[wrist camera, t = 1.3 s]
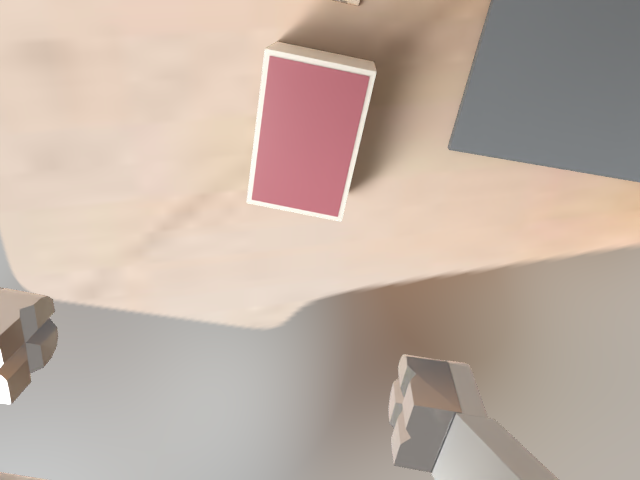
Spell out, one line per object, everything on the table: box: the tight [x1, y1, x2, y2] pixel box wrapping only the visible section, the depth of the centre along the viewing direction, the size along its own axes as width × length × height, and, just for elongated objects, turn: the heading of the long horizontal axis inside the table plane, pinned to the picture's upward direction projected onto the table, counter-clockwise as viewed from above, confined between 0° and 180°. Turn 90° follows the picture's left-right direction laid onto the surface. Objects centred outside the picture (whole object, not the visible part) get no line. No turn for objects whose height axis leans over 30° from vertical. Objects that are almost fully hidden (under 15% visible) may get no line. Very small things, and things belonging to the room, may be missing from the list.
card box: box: [246, 41, 377, 222], centre depth 28 cm, size 9×6×5 cm, turn 169°
